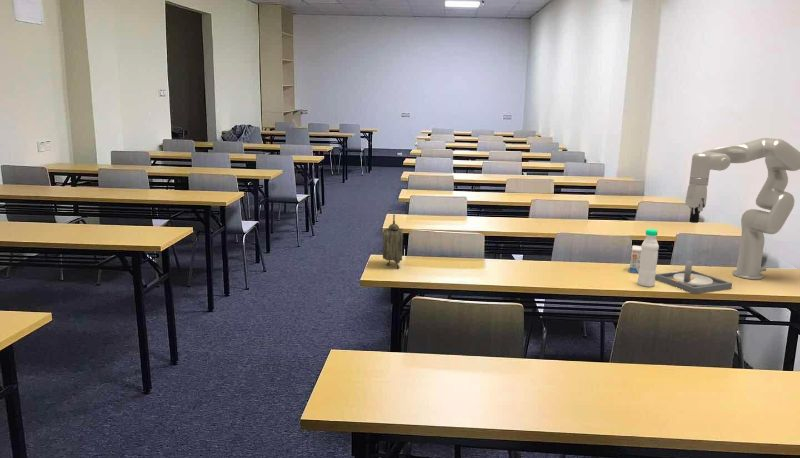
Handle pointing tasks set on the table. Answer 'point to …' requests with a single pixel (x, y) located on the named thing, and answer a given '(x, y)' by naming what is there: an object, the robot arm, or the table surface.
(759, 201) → the robot arm
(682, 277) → the dial
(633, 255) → the ink box
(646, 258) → the water bottle
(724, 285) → the gray square tray
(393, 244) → the ribbed lidded container
